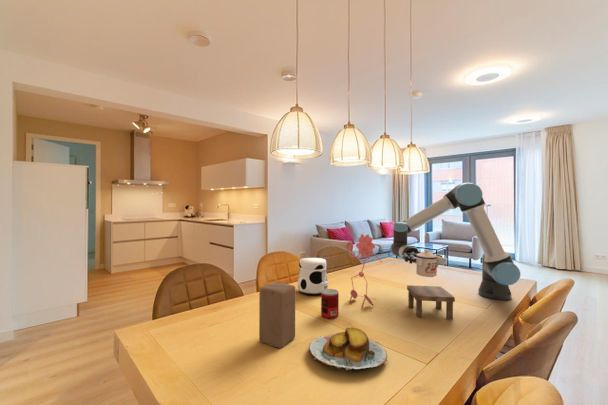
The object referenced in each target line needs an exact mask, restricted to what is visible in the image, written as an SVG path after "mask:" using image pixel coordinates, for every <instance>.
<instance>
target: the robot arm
mask: <svg viewBox="0 0 608 405" xmlns="http://www.w3.org/2000/svg"><path fill="white" fill-rule="evenodd" d="M485 205H486V201H485V199H484V196H483V190H482V188H481V187H480V186H479V185H478V184H476V183H473V182H464V183H461V184H458V185H456V186H455V187H454V188H452V189H451V190H450V191H448V192H447V193H445V194H443V196H442V197H441V199H439V200H437V201H435V202H433V203H432V204H430V205H428V206H427V207H425V208H424V209H421V210H420V211H418V212H417V213H415V214H413V215H411V216H410V217H409V218H407V219H405V220H403V221H398V222H397V221H396V222H395V221H394V222H393V228H392V229H393V230H392V232H393V233H392V234H393V235H392V236H393V241H392V242H393V243H391V245H390V252H391V254H392V255H394V256H396V257H398V258H401V259H403V260H404V262H406V263H408V264H416V265H417V264H418V265H422V259H420V258H417V257H416V255H417V254H418V253H421V251H419V250H418V249H417V248H416V247H413V246H411V245H408V235H409V234H410V233H411V232H413V231H415V230H417V229H419V228H420V227H422V226H423V225H426V224H427V223H429V222H431V221H432V220H434V219H436V218H438V217H440V216H441V215H443V214H445V213H446V212H448V211H450V210H455V209H457V208H459V209H460V211H461V213H463V214H465V215H466V217H467V220H468V221H469V224H470V226H471V228H472V229H473V232H474V234H475V237H476V239H477V241H478V243H479V246H480V247H481V249H482V251H483V254H482V257H481V260H482V261H481V264H482V265H481V271H482V272H481V273H482V274H481V277H482V278H481V282H480V285H479V287H478V290H477V291H478V295H480V296H482V297H485V298H487V299H492V300H496V301H497V300H498V301H509V300H512V292H511V290H510V287H509V286H511V285H515V284H516V283H517V282H519V280H520V278H521V271H520V270H521V269H519V267H518V266H517V265H516V263H514V261H513V258H512V256H511V255H510V253H508V252H506V251H504V248H503V245H502V243H501V242H500V239H499V238H498V235H497V233H496V231H495V229H494V226H493V225H492V223H491V220H490V218H489V216H488V214H487V212H486V210H485ZM433 254H434V255H436V256H437V259H438V261H439V263H440V264H442V265H445V266H447V263H448V259H447V258H446V257H443V255H440V254H435V253H433Z"/></svg>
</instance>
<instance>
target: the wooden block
mask: <svg viewBox="0 0 608 405" xmlns="http://www.w3.org/2000/svg"><path fill="white" fill-rule="evenodd" d="M258 301H259V312H258V313H259V316H258V320H259V325H258V326H259V327H258V331H259V332H258V333H259V334H258V335H259V337H258V338H259V339H258V340H259V342H260V343H262V344H266V345H268V346H272V347H275V348H277V349H282V348H283V347H285V346H286V345H287V344H288V343H290V342H291V341H293V340H294V339H295V337H296V286H295V285H293V284H288V283H282V282H279V281H278V282H276V281H275V282H271V283H270V284H267V285H264V286H261V287H260V288H259V300H258Z"/></svg>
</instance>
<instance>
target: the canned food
mask: <svg viewBox="0 0 608 405" xmlns="http://www.w3.org/2000/svg"><path fill="white" fill-rule="evenodd" d="M320 295H321V296H320V298H321V300H320V301H321V302H320V311H321V312H320V314H321V317H322V318H323V319H327V320H332V319H333V320H334V319H336V318H338V317H339V306H340V305H339V300H340V298H339V296H340V294H339V291H338V290H337V289H335V288H327V289H324V290H322V291H321V294H320Z"/></svg>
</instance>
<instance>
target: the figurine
mask: <svg viewBox="0 0 608 405" xmlns="http://www.w3.org/2000/svg"><path fill="white" fill-rule="evenodd" d="M355 247H356V249H358V254H357V255H356V256H355V255H351V250H353V248H354V244H353V242H351V241H348V242H346V248H347V250H348V251H349V254H348V255H349V258H356V259H357V260H359V261H361V262H362V264H363V265H362V269H361V271H359V272H358V274H356V275H355V276H352V277H350V279H351V285H352V290H350V298H349V300H348V302H349V303H350V302H351V300H352V299H354V300H356V299H357V297H359V295H358V294H359V293H358V292H357V290H355V288H354V283H353V278H355V277H361V278H364V280H365V282H366V283H368V281H367V279H366V276H365V273H364V272H363V271H364V267H365V264H366V260H367V259H370V258H371V255H374V257H375V258H377V260H379V261H380V263H383V261H382V260H381V259H380V258H379V257H378V256H377V254H375V252H374V250H373V249H375V248H376V245H375V243H373V238H372V237H370V234H366V235H364V234H363V233H361V234H360V237H359V238H358V242H357V243H356V244H355ZM360 257H361V258H360ZM363 258H364V259H363ZM365 287H366V290H365V294H363V296H361V295H360V297H362V298H363V302H362V304H361V308H363V307H364V304H365V301H367V302H368V303H369V304H370V305H371V306H372V307H374V303H373V301H377V299H376V298H371V297H369V296H368V285H366V286H365ZM371 299H372V300H373V301H372V300H371Z"/></svg>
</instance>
